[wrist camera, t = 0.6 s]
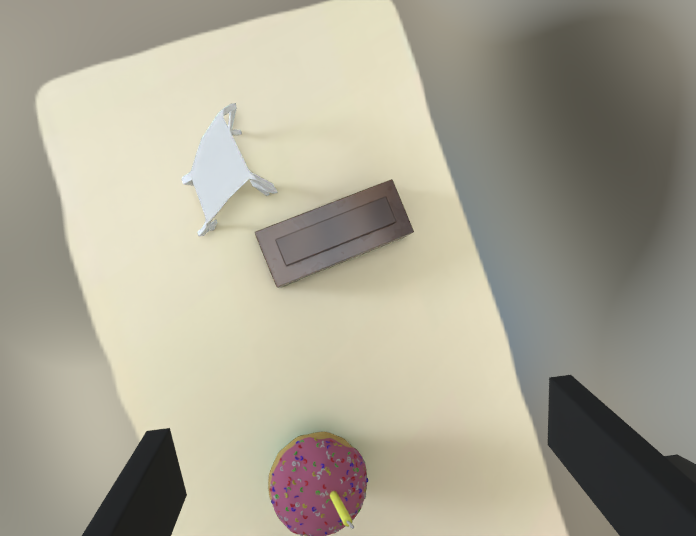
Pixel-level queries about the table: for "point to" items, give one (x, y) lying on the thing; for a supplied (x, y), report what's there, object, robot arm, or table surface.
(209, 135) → the origami figure
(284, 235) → the brown rectangular panel
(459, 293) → the table surface
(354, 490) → the cupcake
